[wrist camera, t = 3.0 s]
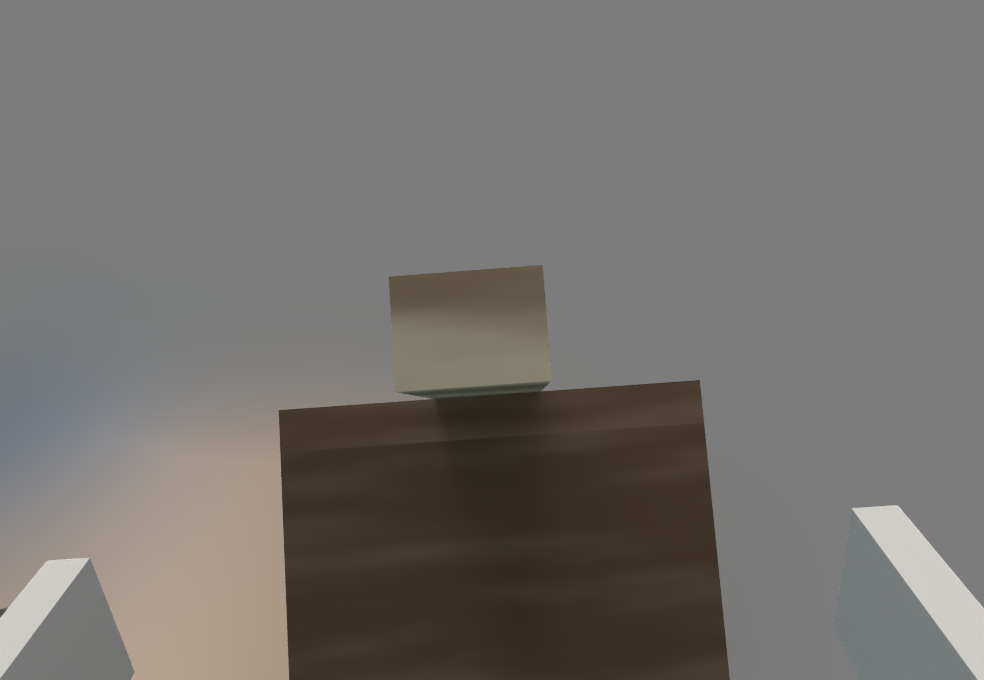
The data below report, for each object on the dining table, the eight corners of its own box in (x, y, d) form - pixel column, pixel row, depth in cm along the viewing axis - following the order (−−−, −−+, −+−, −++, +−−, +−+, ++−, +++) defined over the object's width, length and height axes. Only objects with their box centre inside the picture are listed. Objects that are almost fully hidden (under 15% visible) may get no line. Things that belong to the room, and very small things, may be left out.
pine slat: (551, 380, 18) (542, 264, 19) (395, 391, 18) (388, 276, 19) (532, 399, 42) (528, 348, 42) (464, 404, 42) (461, 353, 43)
